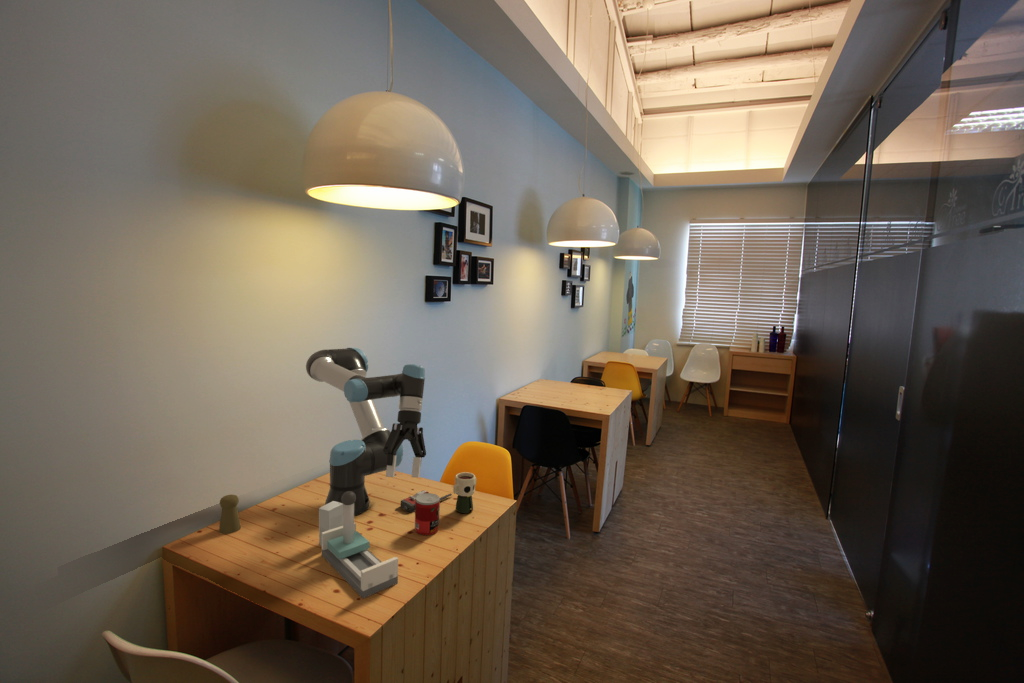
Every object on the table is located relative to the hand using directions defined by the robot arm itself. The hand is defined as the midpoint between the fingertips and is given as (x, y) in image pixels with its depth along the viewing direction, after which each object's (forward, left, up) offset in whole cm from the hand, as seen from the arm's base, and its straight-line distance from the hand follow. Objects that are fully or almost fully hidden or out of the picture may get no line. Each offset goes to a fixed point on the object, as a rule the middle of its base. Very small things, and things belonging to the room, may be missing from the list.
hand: (403, 477), depth 152 cm
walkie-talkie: (-14, +18, -19) cm, 30 cm away
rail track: (+10, -20, -19) cm, 29 cm away
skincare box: (-8, -20, -19) cm, 29 cm away
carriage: (+4, -20, -15) cm, 25 cm away
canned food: (+4, +7, -19) cm, 20 cm away
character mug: (+1, +25, -19) cm, 31 cm away
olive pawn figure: (-36, -41, -19) cm, 58 cm away
